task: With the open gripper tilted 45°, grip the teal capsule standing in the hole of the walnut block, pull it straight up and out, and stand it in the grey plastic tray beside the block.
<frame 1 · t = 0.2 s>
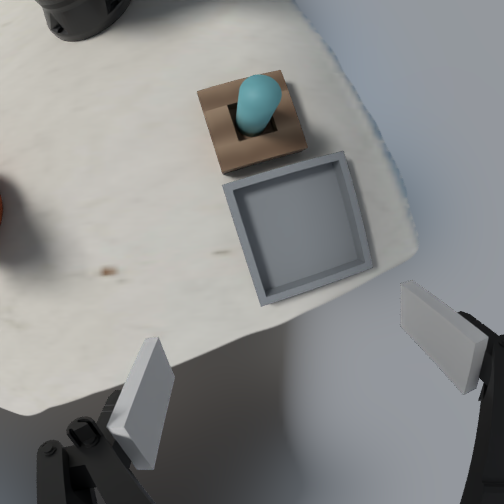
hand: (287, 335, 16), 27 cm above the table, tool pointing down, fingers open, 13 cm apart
hole block: (250, 124, 39), on the table
teal capsule: (250, 122, 38), point 1 cm above the table, touching hole block
tray: (297, 225, 42), on the table
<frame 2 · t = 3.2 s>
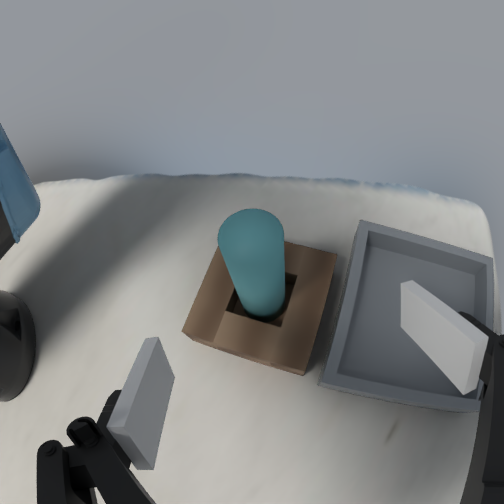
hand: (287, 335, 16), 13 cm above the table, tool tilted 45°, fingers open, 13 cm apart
hole block: (264, 305, 30), on the table
teal capsule: (263, 302, 29), point 1 cm above the table, touching hole block
tray: (413, 324, 27), on the table
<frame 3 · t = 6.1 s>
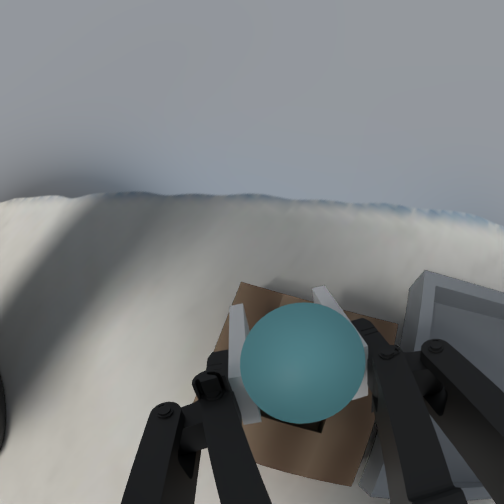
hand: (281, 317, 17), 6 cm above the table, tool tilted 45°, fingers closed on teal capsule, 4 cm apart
hole block: (293, 388, 21), on the table
teal capsule: (293, 387, 20), point 1 cm above the table, touching gripper, hole block
tray: (474, 399, 18), on the table
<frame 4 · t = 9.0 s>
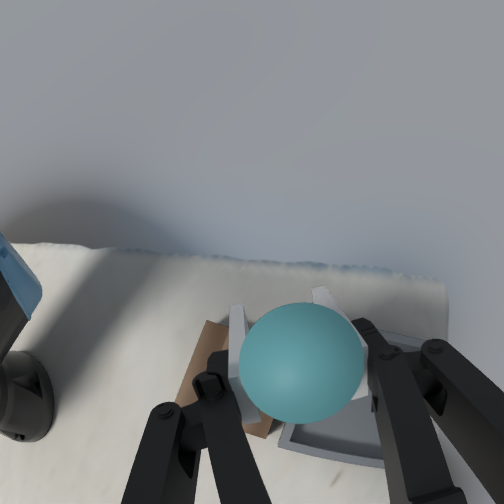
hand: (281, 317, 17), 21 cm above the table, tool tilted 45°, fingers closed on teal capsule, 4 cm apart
hole block: (238, 381, 36), on the table
teal capsule: (293, 387, 20), point 17 cm above the table, touching gripper
tray: (360, 397, 33), on the table
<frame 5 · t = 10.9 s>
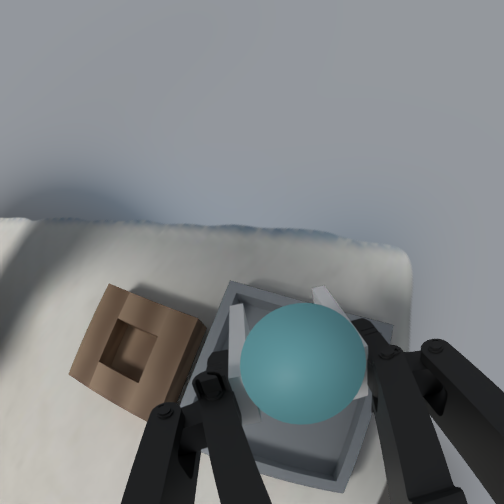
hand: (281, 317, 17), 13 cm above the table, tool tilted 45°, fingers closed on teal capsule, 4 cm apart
hole block: (141, 356, 30), on the table
teal capsule: (294, 388, 20), point 9 cm above the table, touching gripper
tray: (284, 390, 28), on the table
when the fingers open (7 cm above the table, at t = 12.3 s): teal capsule drops 1 cm, resting on tray.
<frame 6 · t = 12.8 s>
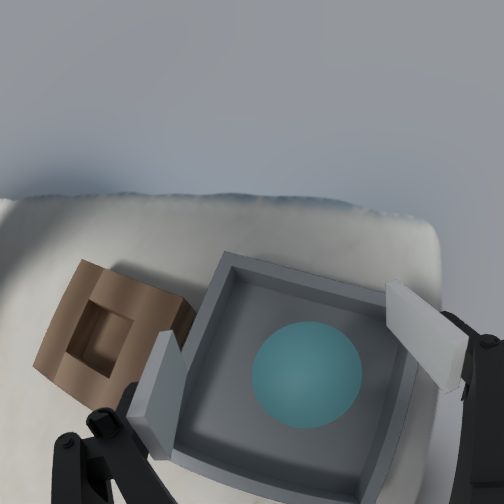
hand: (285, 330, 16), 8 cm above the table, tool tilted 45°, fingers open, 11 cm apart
hole block: (118, 347, 25), on the table
teal capsule: (294, 389, 21), point 1 cm above the table, touching tray
tray: (293, 389, 22), on the table
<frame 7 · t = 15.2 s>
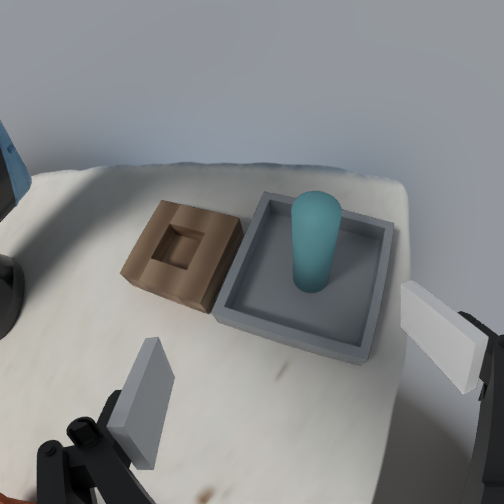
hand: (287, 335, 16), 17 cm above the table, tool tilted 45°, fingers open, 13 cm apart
hole block: (186, 259, 38), on the table
teal capsule: (310, 276, 34), point 1 cm above the table, touching tray
tray: (309, 279, 35), on the table
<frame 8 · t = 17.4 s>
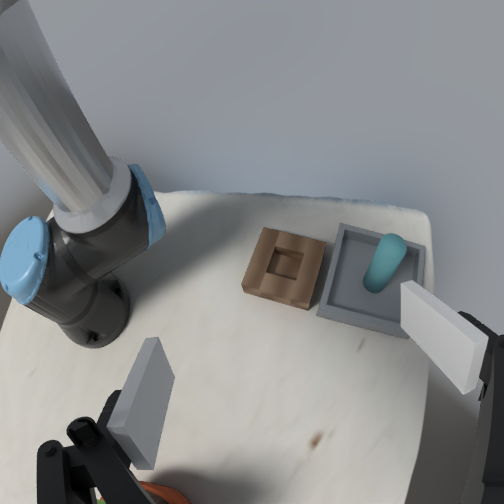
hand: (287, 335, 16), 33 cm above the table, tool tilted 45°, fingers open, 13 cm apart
hole block: (285, 272, 53), on the table
teal capsule: (374, 282, 49), point 1 cm above the table, touching tray
tray: (372, 283, 50), on the table
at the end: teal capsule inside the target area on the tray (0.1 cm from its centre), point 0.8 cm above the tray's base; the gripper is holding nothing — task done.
